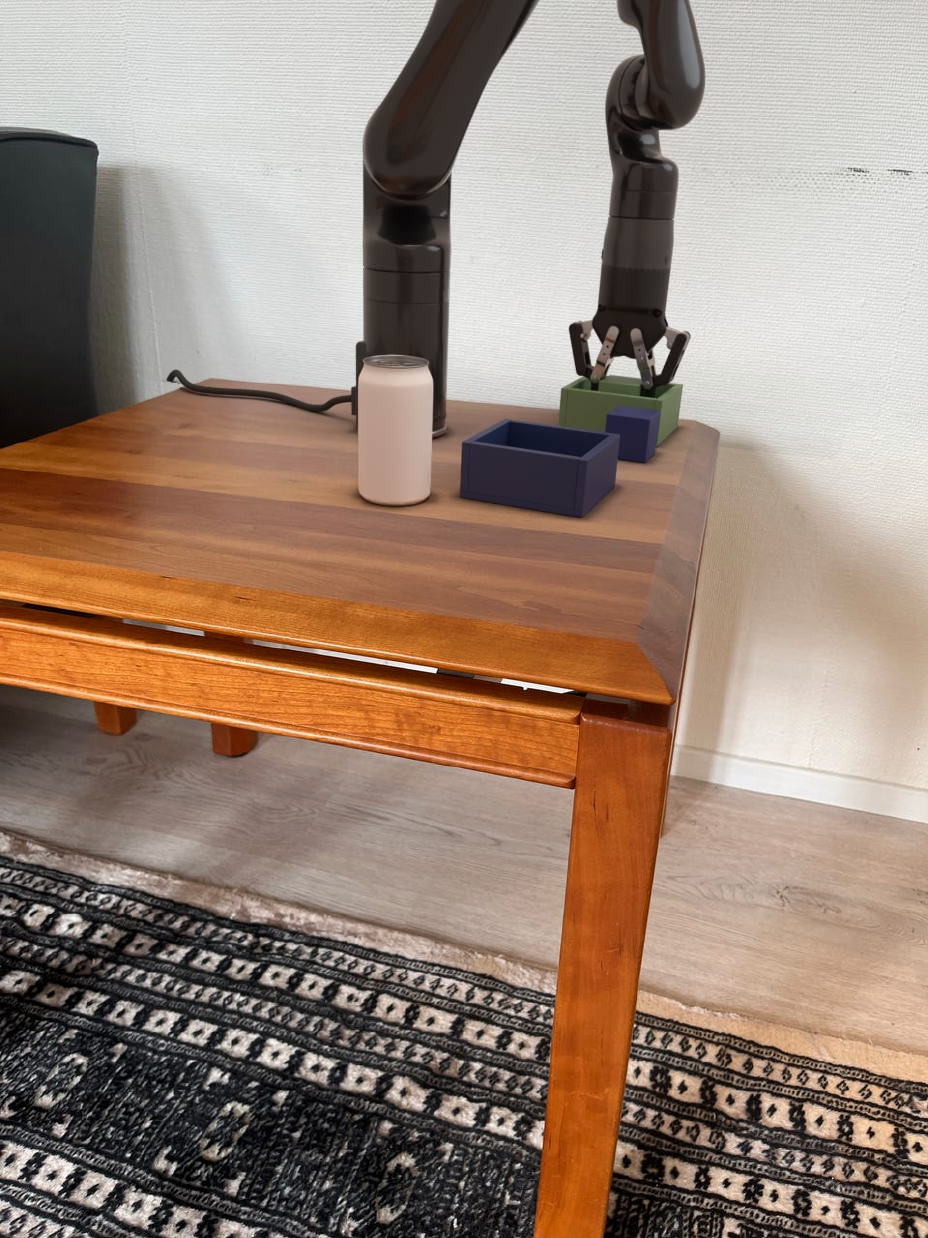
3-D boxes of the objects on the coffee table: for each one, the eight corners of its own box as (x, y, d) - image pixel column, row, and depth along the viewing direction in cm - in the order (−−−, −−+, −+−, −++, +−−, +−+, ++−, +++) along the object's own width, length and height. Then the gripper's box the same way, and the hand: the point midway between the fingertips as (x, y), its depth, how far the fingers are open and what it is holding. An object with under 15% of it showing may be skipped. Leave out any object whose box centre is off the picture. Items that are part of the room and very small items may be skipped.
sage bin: (557, 432, 113) (560, 387, 111) (584, 414, 122) (588, 373, 120) (657, 446, 109) (662, 400, 107) (677, 427, 118) (683, 384, 116)
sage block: (595, 421, 114) (598, 381, 112) (606, 413, 118) (610, 374, 116) (634, 426, 112) (638, 385, 110) (643, 418, 116) (648, 379, 114)
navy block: (602, 456, 104) (606, 413, 102) (614, 447, 108) (618, 405, 106) (645, 463, 102) (650, 419, 100) (655, 453, 106) (660, 410, 104)
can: (420, 510, 85) (424, 369, 80) (349, 502, 86) (348, 364, 82) (437, 489, 91) (441, 357, 86) (370, 482, 92) (370, 351, 87)
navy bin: (459, 497, 89) (461, 441, 87) (502, 469, 98) (504, 418, 96) (582, 517, 85) (587, 460, 83) (614, 486, 94) (620, 434, 92)
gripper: (708, 264, 108) (687, 419, 115) (583, 255, 113) (570, 404, 120) (694, 269, 102) (673, 432, 109) (563, 259, 107) (551, 416, 114)
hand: (619, 416), depth 115 cm, fingers closed on sage block, 4 cm apart
